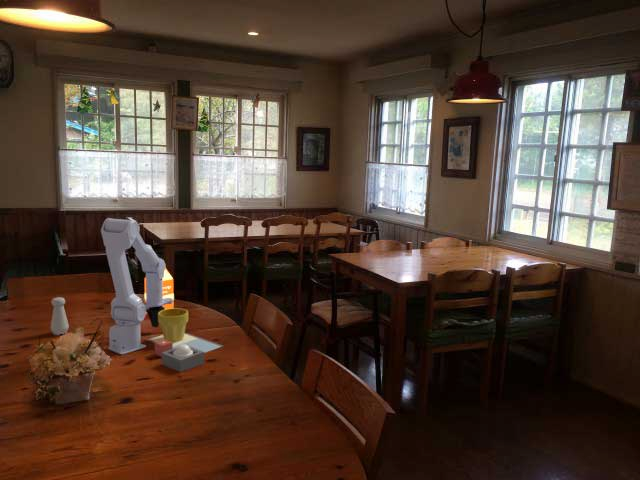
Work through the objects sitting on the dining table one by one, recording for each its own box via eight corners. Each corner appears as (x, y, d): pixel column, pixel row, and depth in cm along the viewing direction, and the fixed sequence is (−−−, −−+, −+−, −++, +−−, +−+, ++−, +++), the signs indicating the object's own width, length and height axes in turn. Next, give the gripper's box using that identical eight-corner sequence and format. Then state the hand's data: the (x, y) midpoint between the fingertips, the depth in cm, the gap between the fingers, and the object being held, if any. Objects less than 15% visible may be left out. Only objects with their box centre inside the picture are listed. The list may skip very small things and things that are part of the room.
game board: (191, 357, 172) (191, 357, 172) (146, 340, 186) (146, 339, 186) (223, 346, 184) (223, 345, 184) (178, 330, 198) (178, 330, 198)
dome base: (180, 372, 161) (180, 360, 160) (161, 364, 166) (161, 352, 166) (204, 363, 168) (204, 351, 168) (185, 355, 174) (185, 344, 173)
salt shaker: (72, 331, 193) (70, 296, 191) (63, 336, 187) (61, 300, 185) (56, 330, 193) (55, 295, 191) (47, 335, 188) (45, 299, 185)
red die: (162, 357, 172) (162, 345, 171) (154, 354, 174) (154, 342, 173) (172, 353, 175) (172, 342, 174) (164, 350, 177) (164, 339, 177)
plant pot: (152, 341, 185) (151, 314, 183) (168, 332, 195) (168, 306, 193) (178, 345, 182) (178, 318, 181) (194, 336, 192) (193, 309, 190)
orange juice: (158, 318, 211) (157, 268, 208) (144, 313, 216) (143, 265, 213) (174, 313, 217) (173, 265, 214) (160, 309, 222) (160, 262, 219)
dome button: (181, 364, 163) (181, 349, 162) (169, 359, 166) (169, 345, 166) (197, 359, 168) (196, 344, 167) (184, 354, 171) (184, 340, 170)
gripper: (143, 296, 184) (144, 334, 186) (177, 288, 195) (178, 324, 198) (131, 292, 188) (132, 329, 190) (165, 285, 200) (166, 319, 202)
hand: (155, 326), depth 194 cm, fingers closed
